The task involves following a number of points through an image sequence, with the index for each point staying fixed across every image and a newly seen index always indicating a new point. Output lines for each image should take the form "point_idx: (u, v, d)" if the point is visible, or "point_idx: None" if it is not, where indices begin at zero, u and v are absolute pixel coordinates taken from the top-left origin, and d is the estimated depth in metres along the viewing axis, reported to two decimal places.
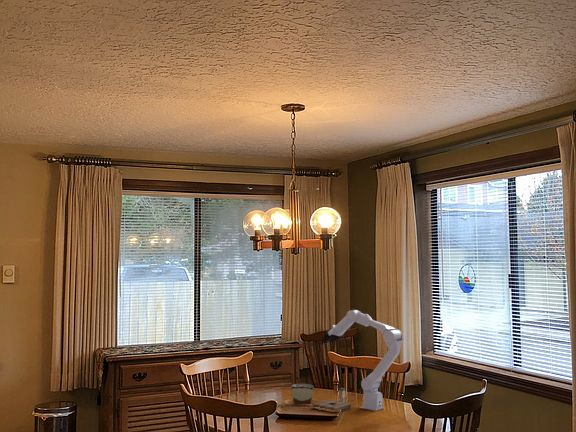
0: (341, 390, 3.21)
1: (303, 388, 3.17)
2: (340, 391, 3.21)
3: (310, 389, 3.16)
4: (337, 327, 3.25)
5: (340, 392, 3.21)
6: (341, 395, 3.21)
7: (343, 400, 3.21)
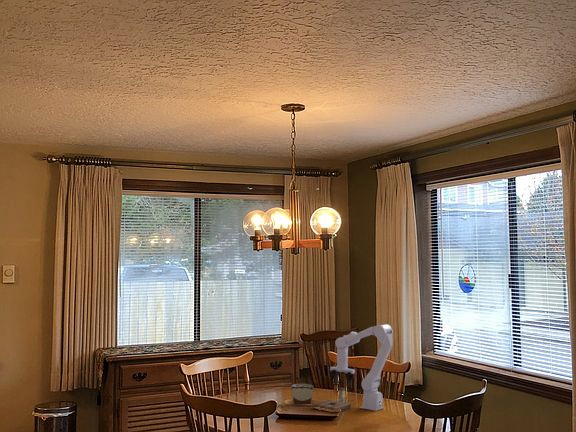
0: (341, 390, 3.21)
1: (303, 388, 3.17)
2: (340, 391, 3.21)
3: (310, 389, 3.16)
4: (345, 364, 3.21)
5: (340, 392, 3.21)
6: (341, 395, 3.21)
7: (343, 400, 3.21)
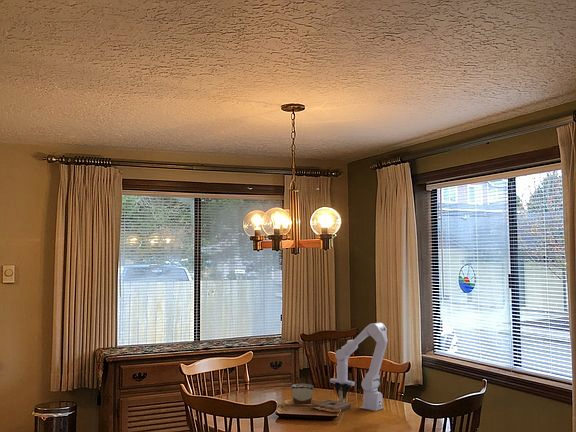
0: (341, 390, 3.21)
1: (303, 388, 3.17)
2: (340, 391, 3.21)
3: (310, 389, 3.16)
4: (345, 376, 3.21)
5: (340, 392, 3.21)
6: (341, 395, 3.21)
7: (343, 400, 3.21)
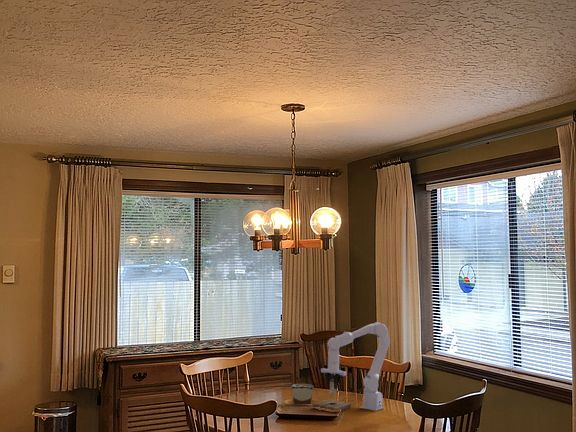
0: (332, 381, 3.10)
1: (303, 388, 3.17)
2: (331, 382, 3.10)
3: (310, 389, 3.16)
4: (337, 365, 3.10)
5: (331, 384, 3.10)
6: (332, 387, 3.10)
7: (334, 392, 3.10)
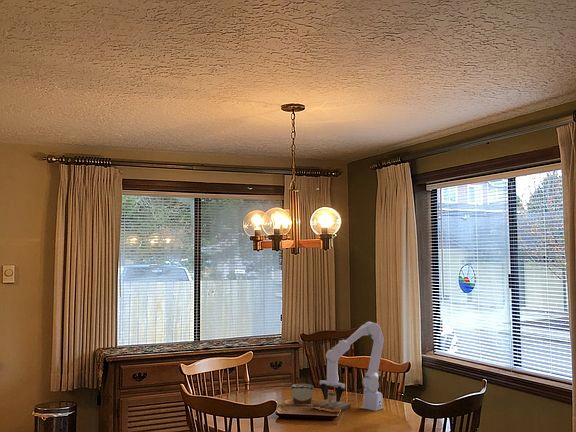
0: (331, 395, 3.08)
1: (303, 388, 3.17)
2: (330, 396, 3.08)
3: (310, 389, 3.16)
4: (336, 378, 3.08)
5: (330, 397, 3.08)
6: (331, 400, 3.08)
7: None
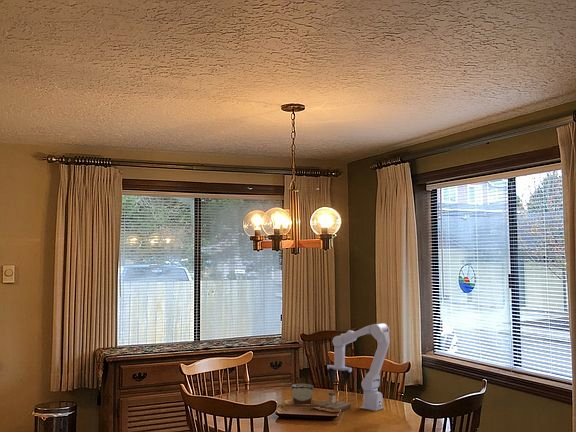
0: (331, 395, 3.08)
1: (303, 388, 3.17)
2: (330, 396, 3.08)
3: (310, 389, 3.16)
4: (343, 362, 3.23)
5: (330, 397, 3.08)
6: (331, 400, 3.08)
7: None
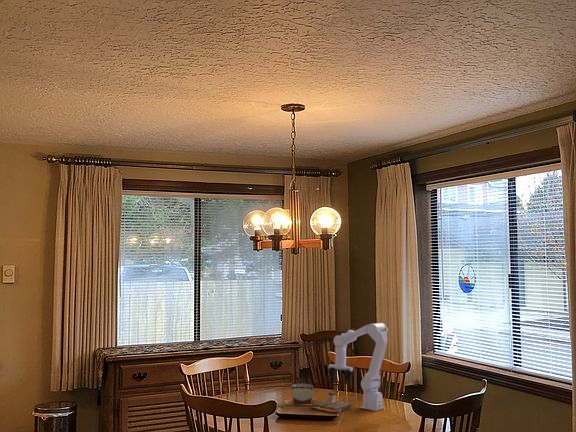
0: (331, 395, 3.08)
1: (303, 388, 3.17)
2: (330, 396, 3.08)
3: (310, 389, 3.16)
4: (344, 361, 3.25)
5: (330, 397, 3.08)
6: (331, 400, 3.08)
7: None
